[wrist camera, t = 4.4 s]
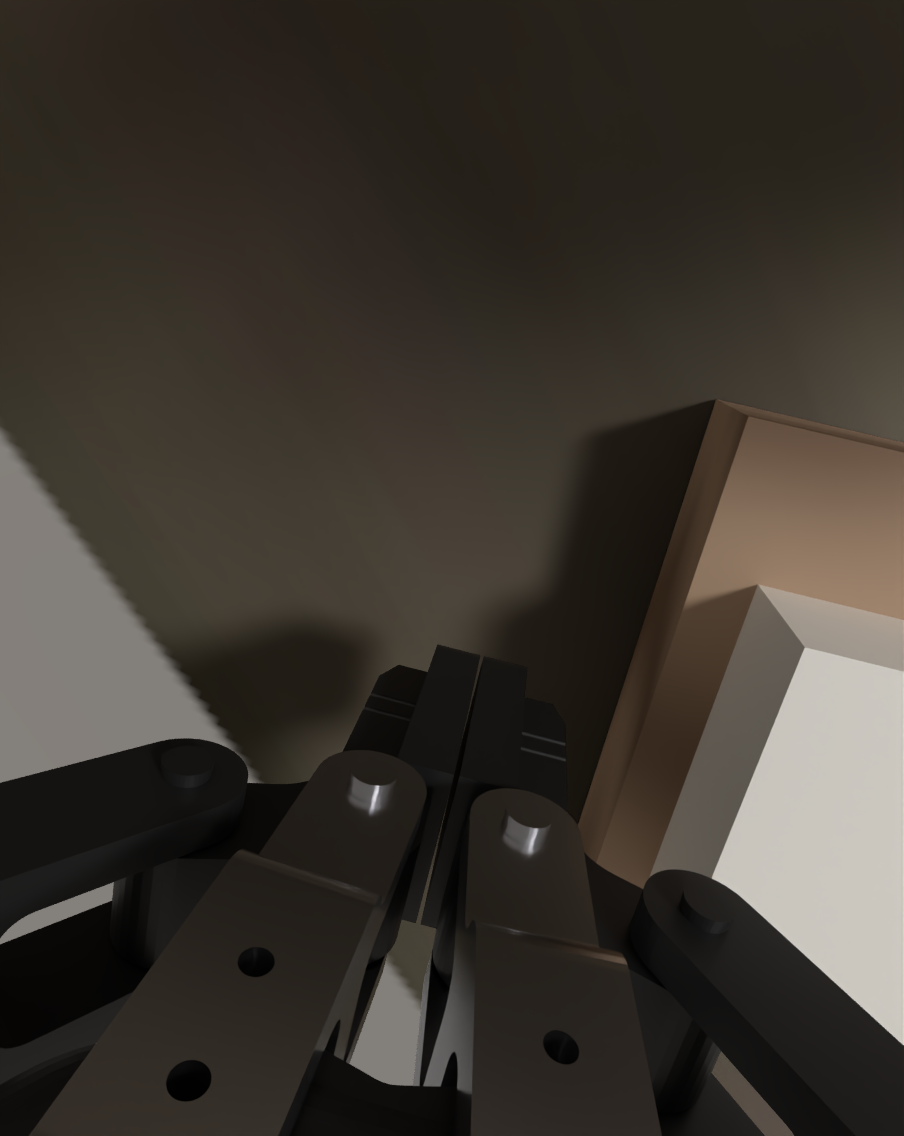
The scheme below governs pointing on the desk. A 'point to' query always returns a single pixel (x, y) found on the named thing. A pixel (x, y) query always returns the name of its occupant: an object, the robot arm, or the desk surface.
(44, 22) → the desk surface
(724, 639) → the plate
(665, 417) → the desk surface
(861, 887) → the white box
